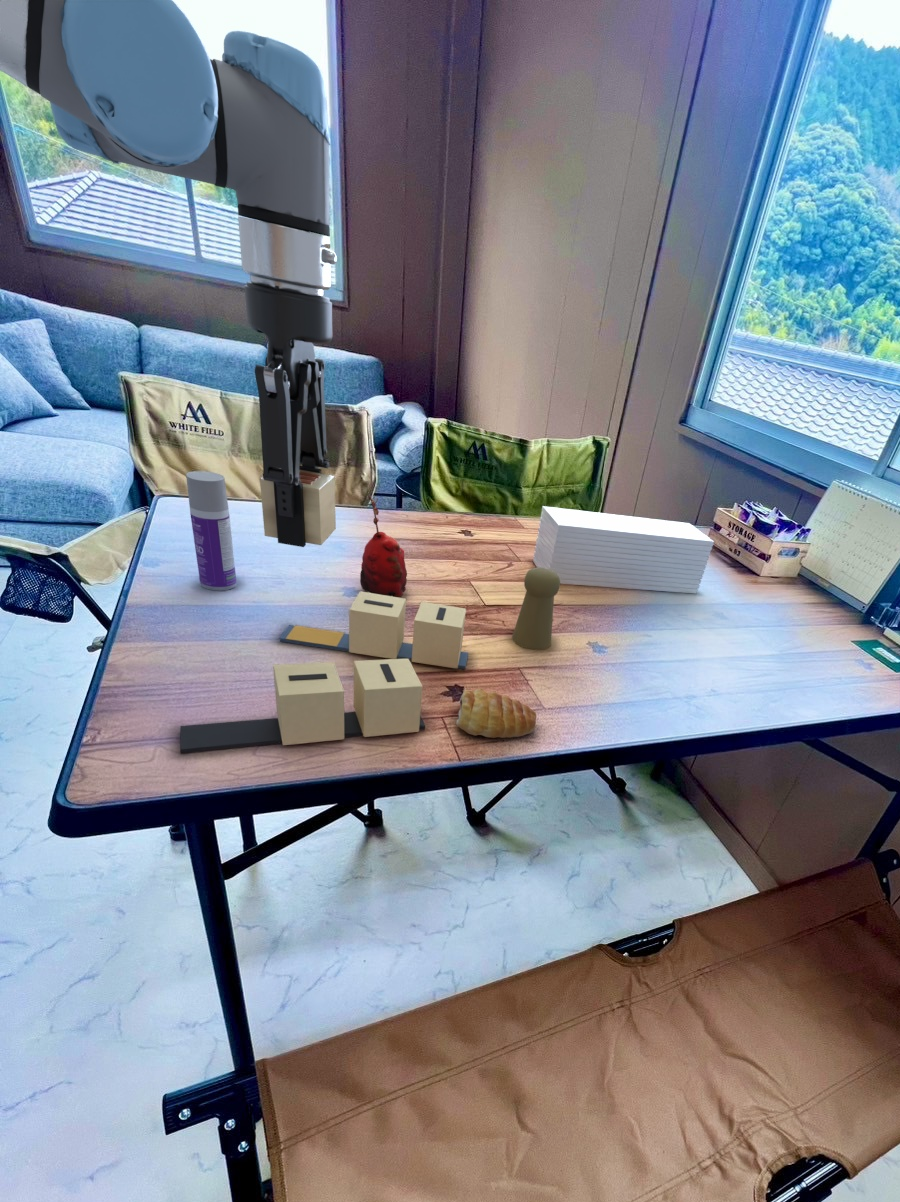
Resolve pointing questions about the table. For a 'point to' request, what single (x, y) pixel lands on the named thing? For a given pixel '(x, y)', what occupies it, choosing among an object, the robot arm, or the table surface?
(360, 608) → the right word mat
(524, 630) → the olive pawn figure
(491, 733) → the pastry
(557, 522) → the stack of papers
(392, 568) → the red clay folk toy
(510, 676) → the table surface
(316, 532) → the red striped cream cube
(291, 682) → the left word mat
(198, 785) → the table surface
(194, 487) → the container
